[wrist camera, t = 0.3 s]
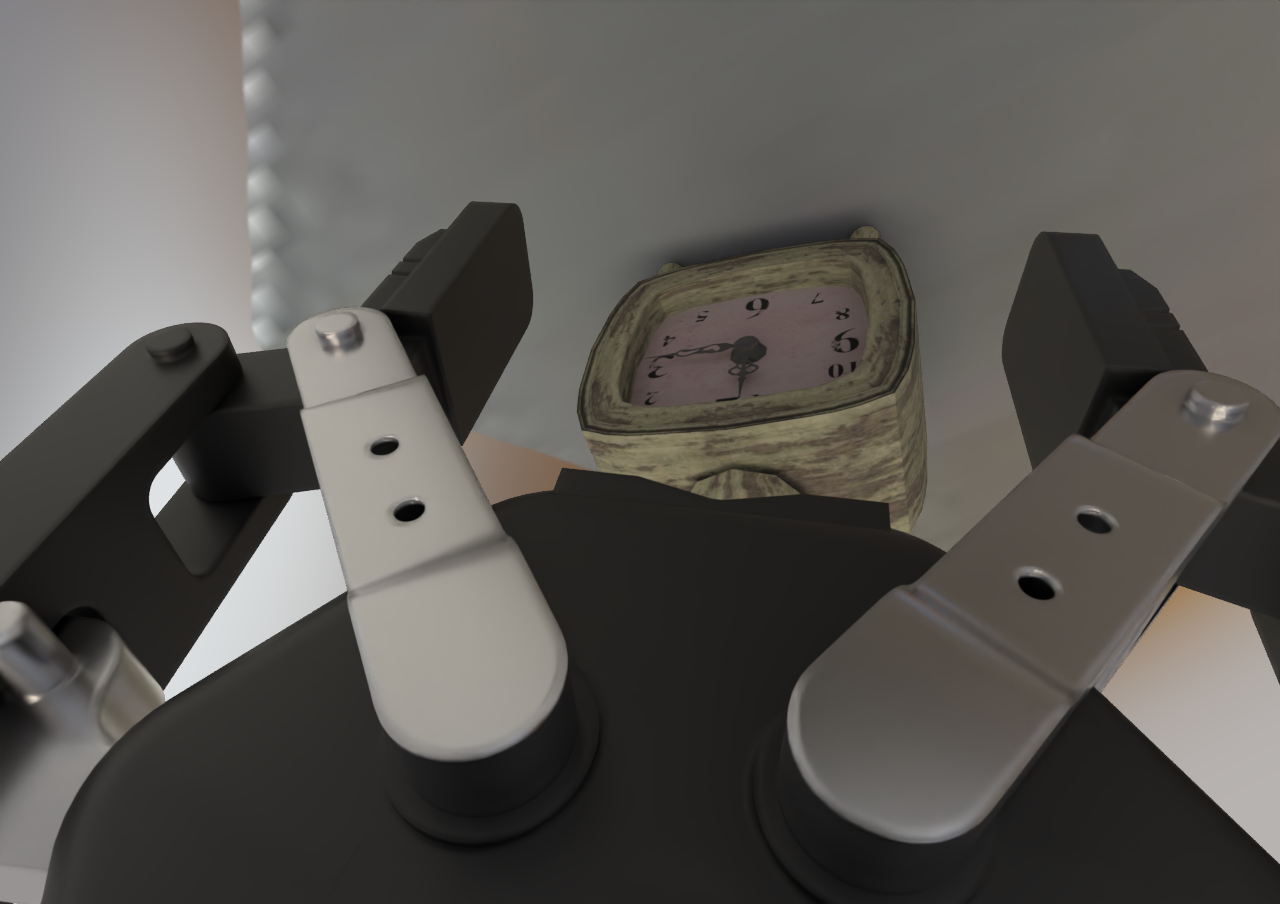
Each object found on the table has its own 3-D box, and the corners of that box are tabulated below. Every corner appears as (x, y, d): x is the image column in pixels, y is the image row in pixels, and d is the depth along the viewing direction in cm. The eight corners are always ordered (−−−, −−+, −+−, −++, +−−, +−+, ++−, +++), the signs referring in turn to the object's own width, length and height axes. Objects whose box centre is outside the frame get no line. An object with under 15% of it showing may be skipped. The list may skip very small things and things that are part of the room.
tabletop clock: (899, 194, 39) (955, 565, 21) (912, 342, 45) (966, 741, 26) (634, 247, 44) (491, 588, 26) (674, 375, 50) (580, 733, 31)
